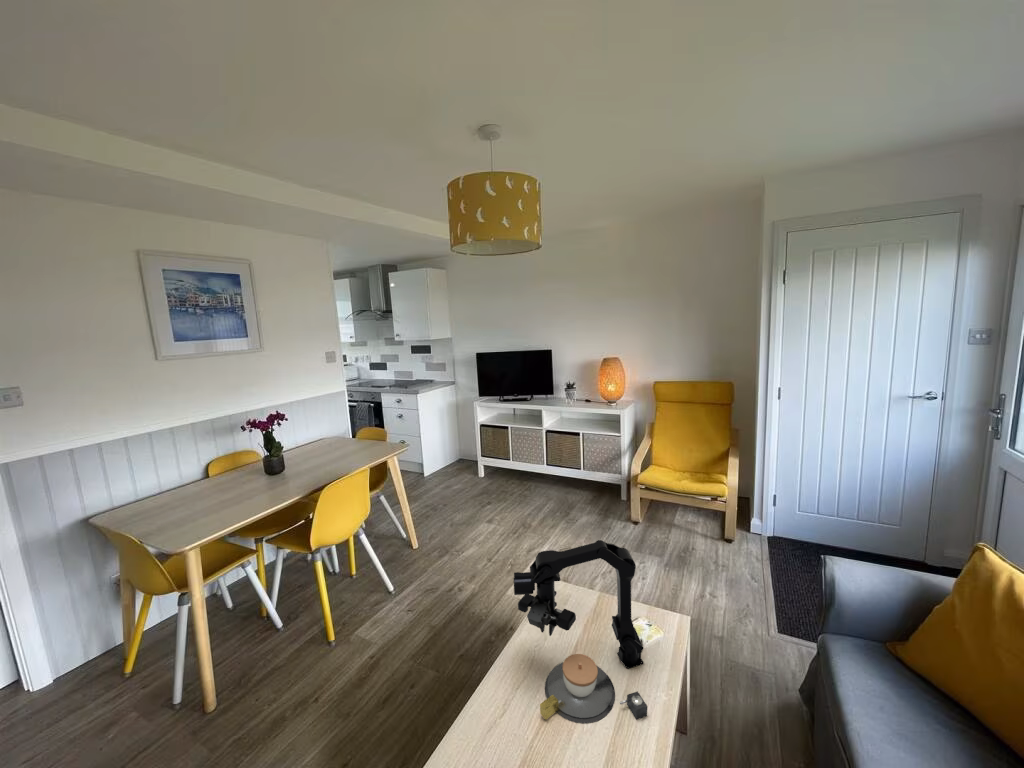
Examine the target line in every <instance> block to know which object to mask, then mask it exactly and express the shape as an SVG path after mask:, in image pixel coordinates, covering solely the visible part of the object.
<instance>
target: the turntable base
mask: <svg viewBox="0 0 1024 768" xmlns="http://www.w3.org/2000/svg"><path fill="white" fill-rule="evenodd" d="M554 668H555V667H554ZM554 668H552V669H551V670H550V671H549V673H548V675H547V676H546V679H545V682H544V695H545V697H546V699H547V698H549V694H548V689H547V682H548V677H549V675H550V673H551V671H552V670H553V669H554ZM607 676H608V677H609V679H610V681H611V684H612V700H611V703H610V705H609V707H608V708H607V710H606V711H605V712H603V713H602V714H601V715H599V716H597V717H594V718H590V719H577V718H573V717H570V716H568V715H566V714H564V713H562V712H561V711H560V710H558V711H556V712H555V714H557V715H558V716H560V717H561V718H563V719H565V720H567V721H569V722H571V723H576V724H593V723H597V722H598V721H601V720H603V719H604V718H605V717H607V715H609V714H610V712H611V711H612V709H613V708H614V704H615V701H616V700H615V699H616V690H615V686H614V683H613V682H612V679H611V678H610V676H609V675H608V674H607Z"/></svg>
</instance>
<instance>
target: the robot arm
mask: <svg viewBox="0 0 1024 768" xmlns="http://www.w3.org/2000/svg"><path fill="white" fill-rule="evenodd" d="M599 559H601V560H603V561H604V562H606V563H607V564H608V565H610V566H611V567H612V568H613V569H614V570H615V572H616V582H617V585H616V590H617V591H616V595H617V597H616V598H617V614H616V615H611V620H612V623H611V628H612V630H613V632H614V636H615V639H616V640H617V641H618V643H619V647H618V652H616V653H617V654H616V655H617V656H618V657H617V658H618V659H619V660H620V662H621V663H622V664H623V666H624V668H625V669H627V670H629V669H632V668H635V667H638V666H641V665H644V663H645V662H644V661H643V659H642V653H643V650H644V647H643V644H642V641H641V639H640V637H639V634H638V632H637V630H636V628H635V627H634V623H633V620H632V580H633V578H634V577H635V574H636V568H637V565H636V563H635V561H634V558H633V557H632V554H631V553H630V551H629V550H628V548H625V547H620V546H618V545H616V544H614V543H608V542H606V541H604V540H601V539H598V540H596V541H595V542H592V543H589V544H588V543H587V544H584V545H581V546H577V547H572V548H570V549H566V550H562V551H561V550H560V551H559V550H558V551H557V550H553V549H551V550H542V551H540V552H538V553H537V554H536V556H535V559H534V561H533V563H532V564H531V565H530V566H529V571H528V572H519V571H517V572H513V578H512V579H513V594H514V595H513V596H522V595H523V596H522V597H521V598H520V600H519V601H518V603H517V610H519V611H520V612H523V613H527V612H528V613H527V615H526V616H527V617H526V618H527V620H528V623H529V624H530V625H531V626H534V627H536V628H539V629H540V631H541V633H544V632H545V629H546V627H547V626H548V634H549V637H551V636H552V635H553V633H554V630H555V628H556V627H558V628H559V629H562V630H565V631H569V630H570V629H571V628H572V626H573V625H574V623H575V621H576V620H577V614H576V613H575V612H574V611H571V610H569V609H566V608H563V609H560V608H556V607H557V606H558V602H556V598H555V597H556V596H557V594H558V593H557V591H556V589H555V582H561V577H560V576H561V575H560V573H561V572H562V571H563V570H564V569H565V568H569V567H572V566H576V565H580V564H583V563H584V564H585V563H588V562H592V561H595V560H599ZM534 591H536V595H535V596H534V595H533V594H534ZM529 607H530V608H529Z"/></svg>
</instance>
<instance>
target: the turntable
mask: <svg viewBox="0 0 1024 768" xmlns="http://www.w3.org/2000/svg"><path fill="white" fill-rule="evenodd" d="M563 662H564V661H561V662H560V663H559V664H557V665H555V666H554V669H553V668H552V669H553V670H552V669H551V670H552V671H551V670H550V672H551V673H550V672H549V673H550V675H549V677H548V682H547V689H548V694H549V698H546V699H545V700H543V701H542V702H540V703H539V707H540V708H539V710H540V711H539V713H540V716H541V717H542V718H543V719H544V720H545V721H546V720H548V719H549V718H550V717H552V716H553V715H554V714H556V711H558V710H560V711H561V712H562V713H564V714H566V715H568V716H570V717H573V718H577V719H590V718H594V717H597V716H599V715H601V714H602V713H603V712H605V711H606V710H607V708H608V707H609V705H610V703H611V700H612V684H611V681H612V680H611V681H610V679H611V678H610V676H609V675H608V674H607V673H606V672H605V671H604V669H602V668H601V667H600V666H598V665H597V664H596V666H597V669H598V675H597V682H596V686H595V688H594V690H593V692H592V693H591V694H590V695H588V696H586V697H577V696H575V695H573V694H571V693H570V692H569V691H568V689H567V688H566V686H565V683H564V679H563ZM607 675H608V676H609V677H608V676H607ZM609 678H610V679H609Z"/></svg>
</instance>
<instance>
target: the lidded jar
mask: <svg viewBox="0 0 1024 768" xmlns="http://www.w3.org/2000/svg"><path fill="white" fill-rule="evenodd" d="M562 662H563V679H564V683H565V686H566V688H567V689H568V691H569V692H570V693H571V694H573V695H575V696H577V697H586V696H588V695H590V694H591V693H592V692H593V690H594V688H595V686H596V682H597V675H598V669H597V666H598V665H597V663H595V661H594V659H592V658H591V657H589V656H588V655H586V654H581V653H574V654H570V655H569V656H567V657H566V658H565V659H564V660H563V661H562ZM596 665H597V666H596Z"/></svg>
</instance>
